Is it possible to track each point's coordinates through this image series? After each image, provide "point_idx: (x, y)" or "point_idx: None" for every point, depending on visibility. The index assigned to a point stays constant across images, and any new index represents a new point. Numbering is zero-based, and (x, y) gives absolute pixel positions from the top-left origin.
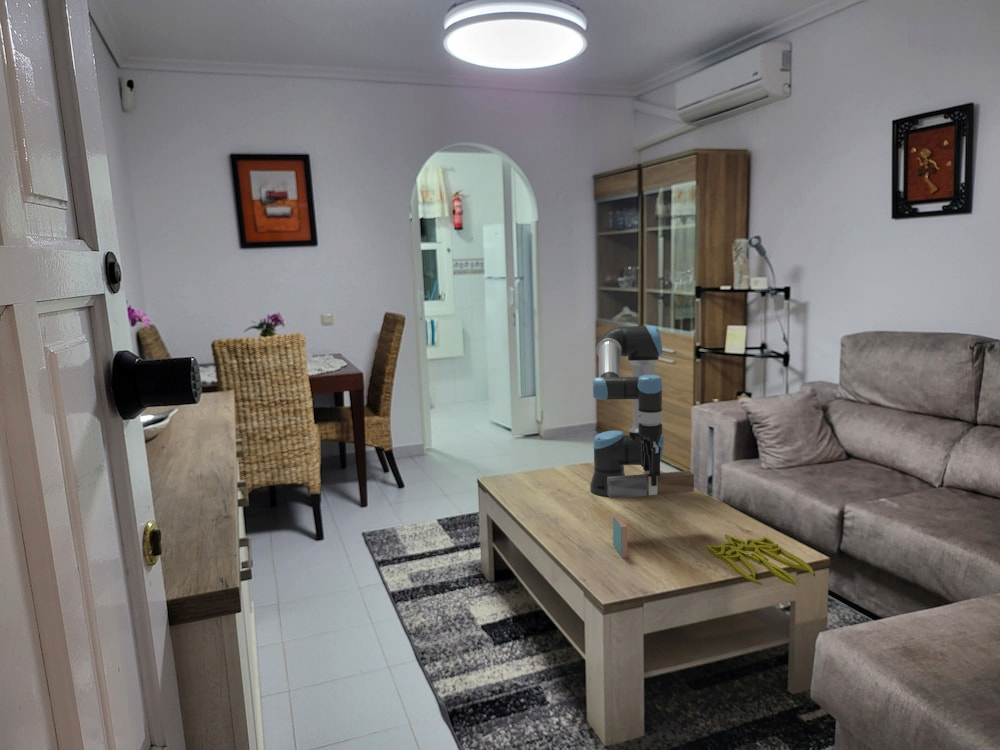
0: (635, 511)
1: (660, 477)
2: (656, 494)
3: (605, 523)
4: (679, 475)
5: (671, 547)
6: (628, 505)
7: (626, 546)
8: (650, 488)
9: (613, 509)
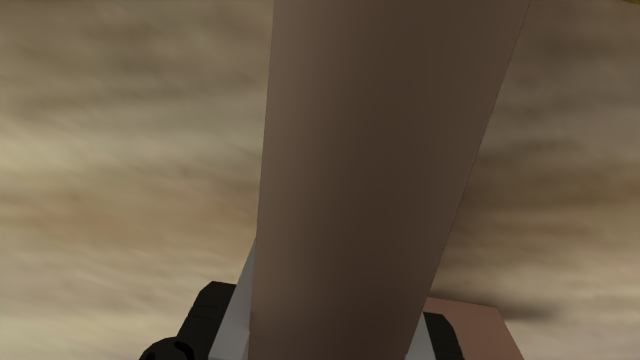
0: (86, 95)
1: (418, 309)
2: None
3: (199, 255)
4: (523, 16)
5: (511, 142)
6: (5, 91)
7: (512, 341)
8: None
9: (55, 172)
